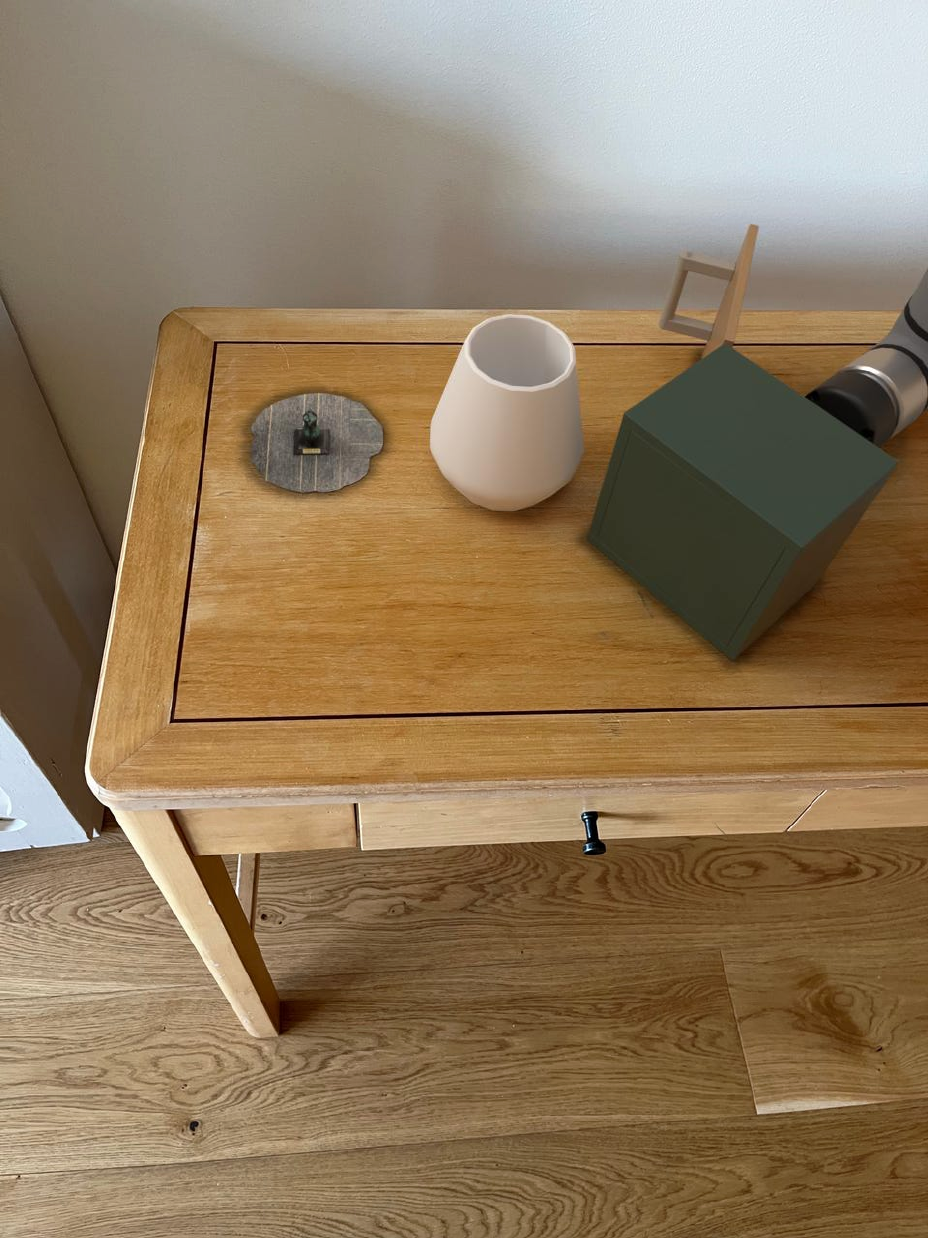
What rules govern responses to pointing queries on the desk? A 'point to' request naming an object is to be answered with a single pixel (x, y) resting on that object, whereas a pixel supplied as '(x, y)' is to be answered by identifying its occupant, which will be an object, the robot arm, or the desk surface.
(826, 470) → the cabinet
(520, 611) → the desk surface
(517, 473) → the white tapered cylinder
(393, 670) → the desk surface
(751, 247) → the cabinet door
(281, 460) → the sculpture
